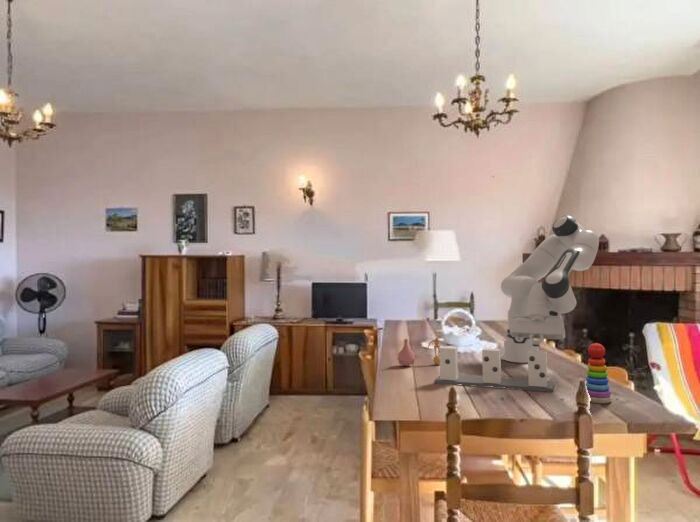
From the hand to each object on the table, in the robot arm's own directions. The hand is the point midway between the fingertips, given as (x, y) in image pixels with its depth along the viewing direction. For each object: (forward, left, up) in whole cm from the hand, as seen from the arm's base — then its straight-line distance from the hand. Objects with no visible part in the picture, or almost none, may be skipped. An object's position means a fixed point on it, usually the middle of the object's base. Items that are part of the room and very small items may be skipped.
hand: (535, 345), depth 195 cm
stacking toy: (+23, +20, -14) cm, 33 cm away
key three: (+13, +1, -12) cm, 18 cm away
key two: (+13, -15, -12) cm, 23 cm away
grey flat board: (+10, -15, -13) cm, 22 cm away
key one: (+13, -31, -12) cm, 35 cm away
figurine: (-19, -44, -14) cm, 50 cm away
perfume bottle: (-11, -56, -14) cm, 58 cm away
